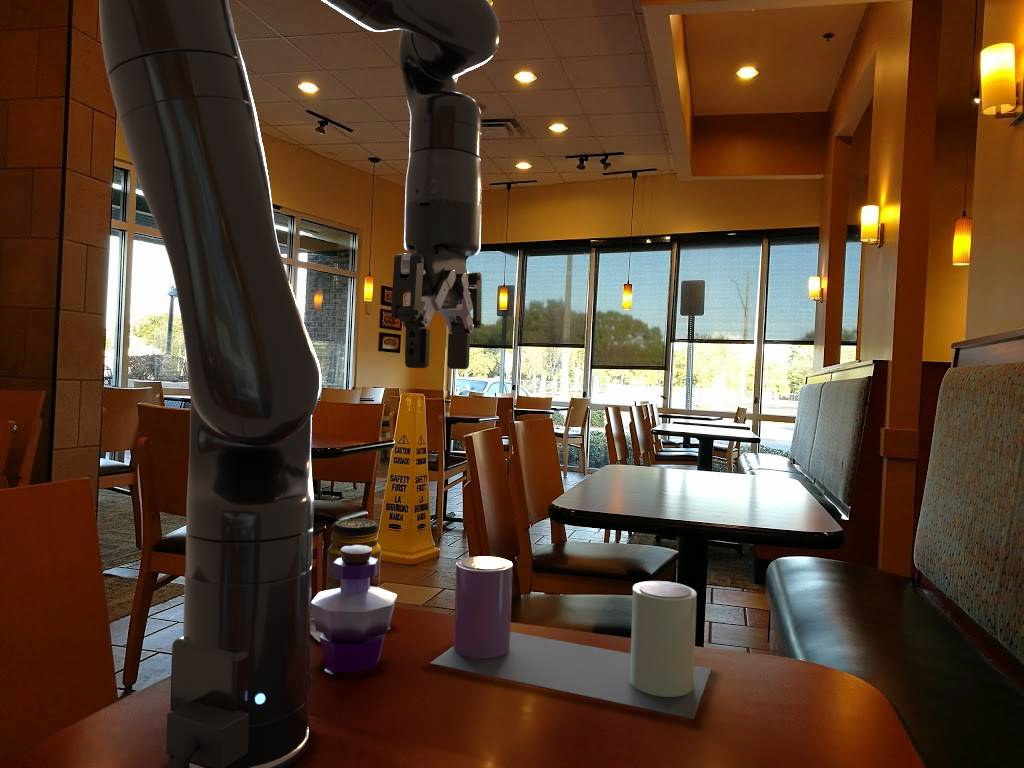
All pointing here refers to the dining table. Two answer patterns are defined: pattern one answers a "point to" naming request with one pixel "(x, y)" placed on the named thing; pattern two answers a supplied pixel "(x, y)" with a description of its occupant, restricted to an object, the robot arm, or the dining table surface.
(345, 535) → the condiment
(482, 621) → the purple tumbler
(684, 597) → the celadon tumbler
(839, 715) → the dining table surface
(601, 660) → the placemat
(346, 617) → the potion bottle
